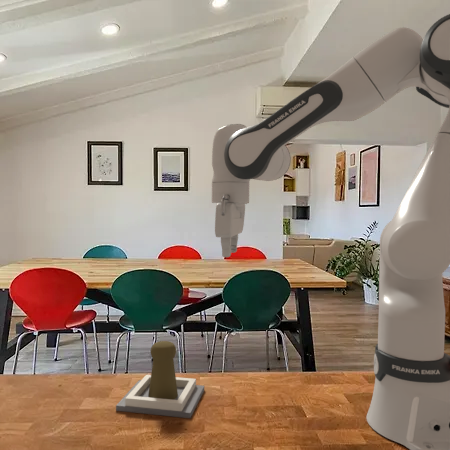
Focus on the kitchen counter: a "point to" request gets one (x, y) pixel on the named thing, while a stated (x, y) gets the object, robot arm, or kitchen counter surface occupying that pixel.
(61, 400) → the kitchen counter surface
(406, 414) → the robot arm
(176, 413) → the notch board
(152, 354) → the olive knobbed peg
